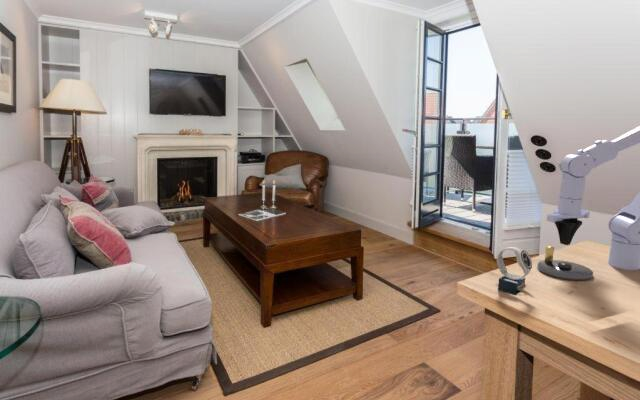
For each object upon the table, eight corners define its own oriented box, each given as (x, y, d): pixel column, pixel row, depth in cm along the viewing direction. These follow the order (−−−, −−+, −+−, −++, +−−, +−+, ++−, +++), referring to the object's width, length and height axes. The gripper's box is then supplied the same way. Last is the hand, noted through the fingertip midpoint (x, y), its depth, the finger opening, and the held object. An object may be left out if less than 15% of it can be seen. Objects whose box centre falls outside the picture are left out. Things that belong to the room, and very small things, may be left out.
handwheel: (604, 276, 108) (606, 256, 107) (569, 283, 103) (572, 263, 102) (559, 260, 120) (561, 242, 119) (526, 266, 115) (528, 248, 114)
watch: (523, 297, 99) (528, 254, 97) (490, 288, 104) (494, 246, 102) (532, 291, 103) (537, 249, 100) (500, 282, 108) (503, 242, 106)
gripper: (575, 193, 121) (569, 237, 123) (539, 196, 115) (534, 242, 118) (599, 197, 114) (592, 244, 117) (562, 201, 109) (556, 250, 112)
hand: (564, 244), depth 117 cm, fingers closed
